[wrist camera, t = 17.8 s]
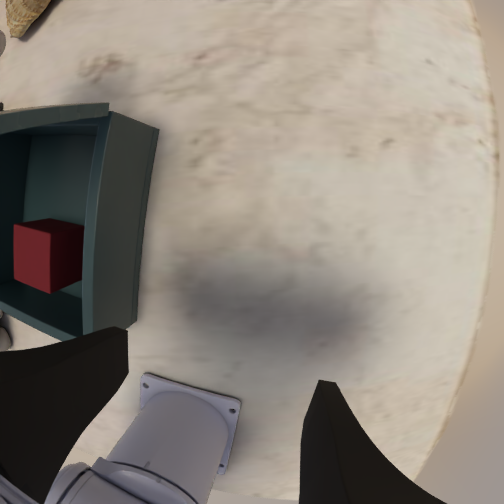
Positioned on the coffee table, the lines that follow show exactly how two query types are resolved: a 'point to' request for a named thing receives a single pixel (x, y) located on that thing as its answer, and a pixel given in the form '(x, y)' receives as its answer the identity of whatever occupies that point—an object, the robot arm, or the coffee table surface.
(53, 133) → the grey-green open box
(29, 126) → the lid
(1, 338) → the chubby cartoon animal
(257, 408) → the coffee table surface
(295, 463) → the coffee table surface
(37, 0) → the seashell
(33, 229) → the block
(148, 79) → the coffee table surface
